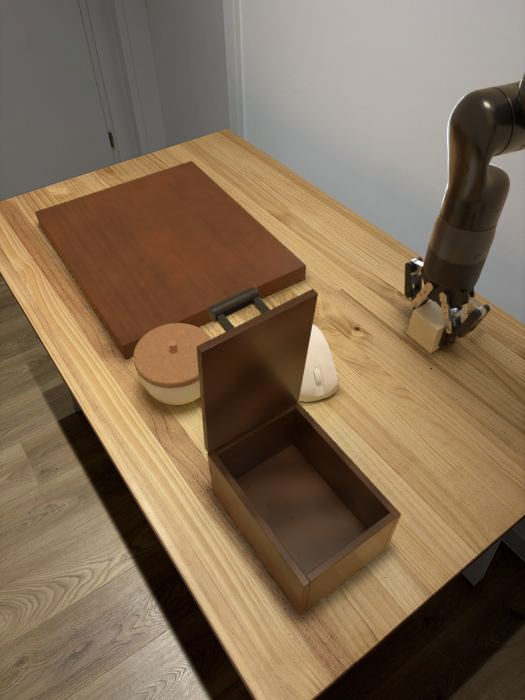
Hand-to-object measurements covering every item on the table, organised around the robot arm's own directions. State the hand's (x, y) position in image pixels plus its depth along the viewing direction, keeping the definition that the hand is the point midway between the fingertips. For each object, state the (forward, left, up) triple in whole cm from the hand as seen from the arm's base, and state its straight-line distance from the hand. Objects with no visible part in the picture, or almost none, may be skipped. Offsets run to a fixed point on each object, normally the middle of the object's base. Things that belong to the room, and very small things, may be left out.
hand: (430, 333), depth 84 cm
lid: (+28, +21, +18) cm, 39 cm away
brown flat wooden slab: (+41, -25, -1) cm, 48 cm away
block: (0, 0, -1) cm, 1 cm away
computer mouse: (+20, +5, -1) cm, 21 cm away
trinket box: (+38, +7, -1) cm, 39 cm away
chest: (+24, +27, -1) cm, 37 cm away
